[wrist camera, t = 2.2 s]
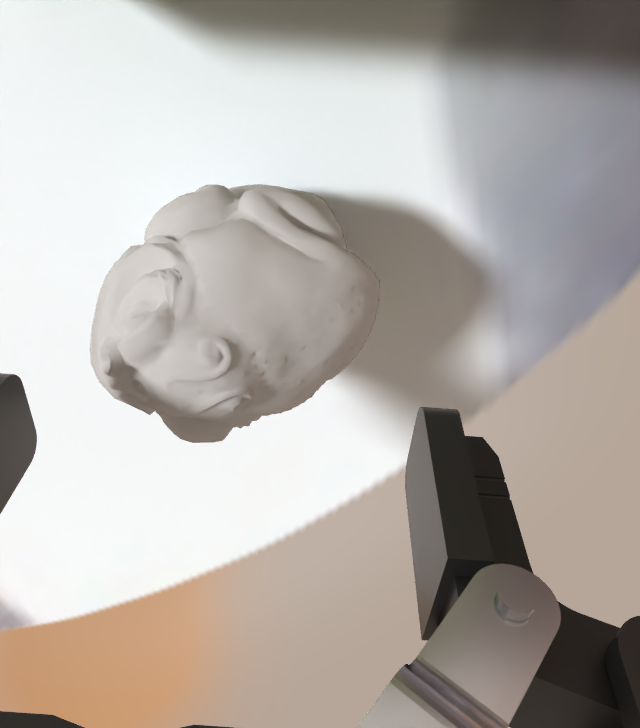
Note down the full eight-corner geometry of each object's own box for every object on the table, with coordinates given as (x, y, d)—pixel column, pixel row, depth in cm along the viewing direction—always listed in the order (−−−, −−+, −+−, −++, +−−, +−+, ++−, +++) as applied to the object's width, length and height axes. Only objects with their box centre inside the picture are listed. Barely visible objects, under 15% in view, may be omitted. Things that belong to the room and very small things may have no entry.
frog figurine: (108, 182, 17) (-6, 310, 11) (342, 106, 16) (343, 209, 10) (197, 348, 20) (142, 509, 15) (396, 298, 19) (418, 454, 13)
